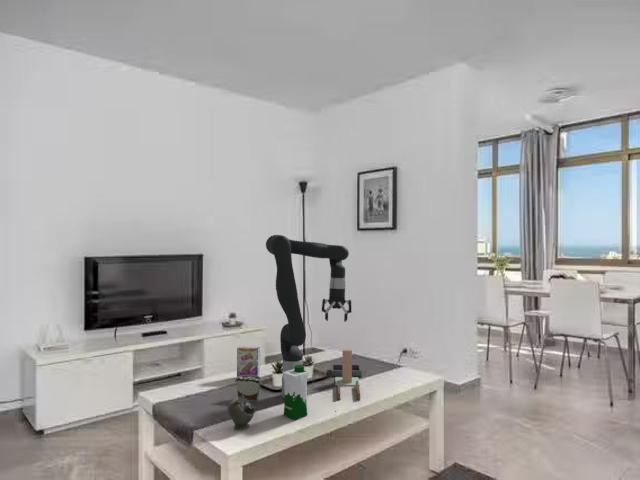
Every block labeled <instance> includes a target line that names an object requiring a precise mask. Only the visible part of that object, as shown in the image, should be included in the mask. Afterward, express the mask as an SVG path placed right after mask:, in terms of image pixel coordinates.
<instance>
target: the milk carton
mask: <svg viewBox="0 0 640 480" xmlns="http://www.w3.org/2000/svg"><path fill="white" fill-rule="evenodd" d="M282 376H283V377H284V383H285V398H284V403H283V416H285V417H287V418H290V419H291V420H293V421H297V420H299V419H301V418H303V417H307V416H308V407H307V406H308V405H307V404H308V403H307V400H308V399H307V398H308V397H307V395H308V394H307V392H308V391H307V388H308V387H307V386H308V383H307V382H308V377H309V371H306V370H305V365H295V369H292V370H288V371H286V372H283V371H282Z"/></svg>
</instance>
